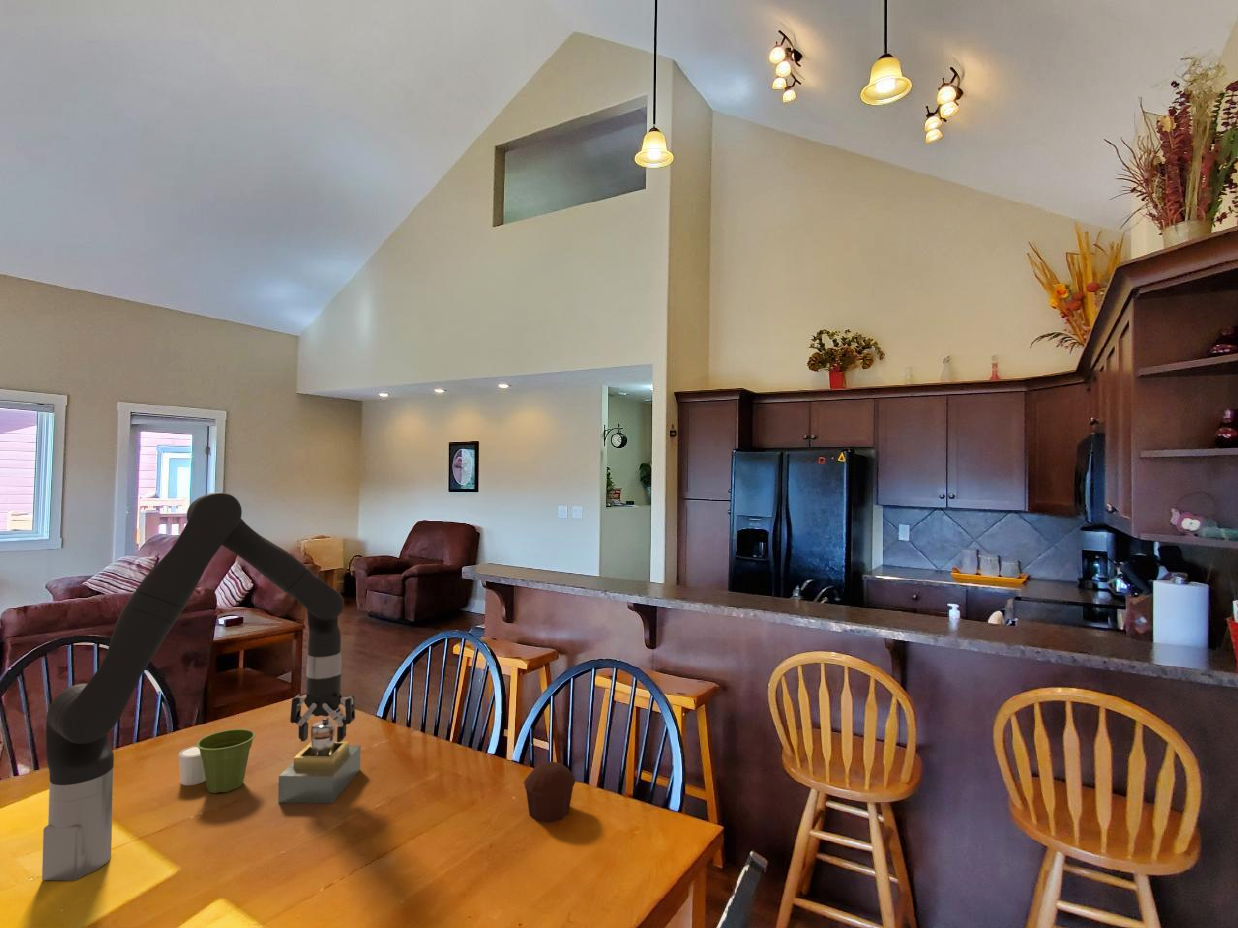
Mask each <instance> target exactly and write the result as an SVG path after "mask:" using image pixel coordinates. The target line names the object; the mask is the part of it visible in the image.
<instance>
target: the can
mask: <svg viewBox="0 0 1238 928" xmlns="http://www.w3.org/2000/svg"><path fill="white" fill-rule="evenodd" d="M335 724H336V723H335V722H333V721H330V717H323V718H322V721H319V722H315V723H313V724H312V725H311V729H310V742H311V756H331V755H332V754H333V753H334V741H335V734H336V733H335V732H336V725H335Z"/></svg>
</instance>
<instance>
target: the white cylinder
mask: <svg viewBox="0 0 1238 928" xmlns="http://www.w3.org/2000/svg"><path fill="white" fill-rule="evenodd" d="M178 760H179V761H178V762H179V772H180V773H179V774H180V784H181V785H182V786H194V785H199V784H201V783H204V782H206V778H205V772H204V766H203V760H202V757H201V754H200V749H199V748H198V747H197V745H192V746H190V747H189V746H188V747H186V748H184V749H182V750H180V752H179V753H178Z"/></svg>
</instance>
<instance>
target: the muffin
mask: <svg viewBox="0 0 1238 928" xmlns="http://www.w3.org/2000/svg"><path fill="white" fill-rule="evenodd" d="M523 783H524V788H525V790H526V791H525V792H526V798H527V804H528V805H527V806H528V814H529V817H531V818H533V819H534V820H535V821H536V822H545V823H552V822H557V821H562V820H563V819H564V817H566V816H568V815H569V813H570V808H571V807H570V806H571V801H572V795H573V790H574V786H575V785H576V784H575V783H576V779H575V777H574V775H573V773H572V772H571V771H570V769H569V768H568V767H566V766H565V765H563V764H562V763H560V762H556V761H546V762H543V763H541V764H539V765H537V766H535V767H534V768H533V769H532V770H531V771H530V772H529V774H528V775H527V777H526V778H525V779H524V781H523Z"/></svg>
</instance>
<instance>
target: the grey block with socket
mask: <svg viewBox="0 0 1238 928" xmlns="http://www.w3.org/2000/svg"><path fill="white" fill-rule="evenodd" d="M361 747H362V746H361V745H352V744H351V745H350V741H343V740H342V741H341V742H337V740H334V753H333V754H332V755H331V756H311V741H310V742H309V743H308V744H307V745H306V746H305V747H304V748H302V749H301V750H300V751H299V752H298V753H297V754H296V755H295V756H294V757H293V762H292V763H291V764H290V765H289V766H288V767H287V768H286V769H285V770H283V772H281V773H280V774H279V775H278V790H277V791H278V799H277V800H278V802H277V803H280V804H333V803H334V802H335V800H336V799H337V798H338V796H340V795H341V793H342V792H343V791H344V790H345V789H346V787H347V786H348V785H349V784H350V783H351V781H352V780H353V779H354V778H355V777H356V776H357V774H358V773H359V772H360V770H361V755H362V754H361V750H362V749H361Z"/></svg>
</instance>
